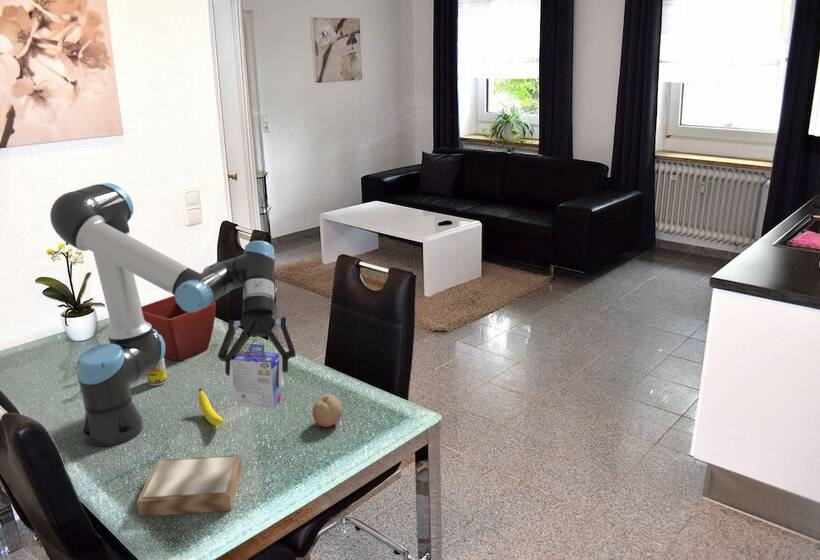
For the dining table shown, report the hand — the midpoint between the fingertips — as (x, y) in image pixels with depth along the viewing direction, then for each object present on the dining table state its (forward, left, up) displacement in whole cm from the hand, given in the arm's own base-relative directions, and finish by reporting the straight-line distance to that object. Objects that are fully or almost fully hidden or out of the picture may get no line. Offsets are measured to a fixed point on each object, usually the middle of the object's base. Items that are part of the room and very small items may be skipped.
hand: (256, 387), depth 161 cm
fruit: (+14, +20, -23) cm, 34 cm away
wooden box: (-16, -7, -23) cm, 28 cm away
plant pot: (-38, +75, -23) cm, 87 cm away
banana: (-18, +25, -23) cm, 39 cm away
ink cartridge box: (0, +3, -6) cm, 7 cm away
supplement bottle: (-40, +52, -23) cm, 70 cm away
